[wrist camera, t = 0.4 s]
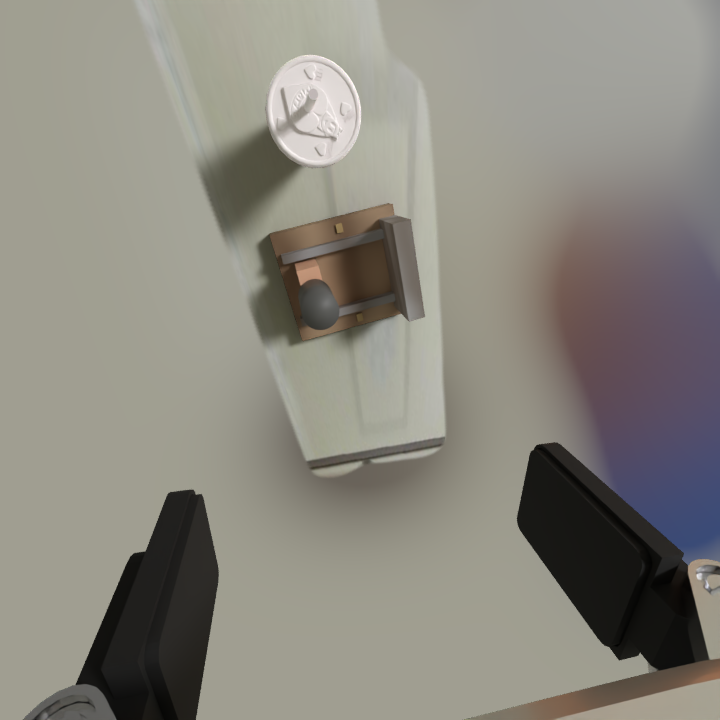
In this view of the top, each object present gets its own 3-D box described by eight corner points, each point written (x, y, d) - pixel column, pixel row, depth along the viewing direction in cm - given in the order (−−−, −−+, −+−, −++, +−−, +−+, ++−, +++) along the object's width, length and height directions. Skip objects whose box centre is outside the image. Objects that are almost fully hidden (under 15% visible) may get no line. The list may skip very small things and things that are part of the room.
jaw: (303, 313, 39) (310, 345, 31) (289, 264, 37) (293, 286, 29) (332, 305, 39) (346, 335, 31) (319, 257, 37) (331, 276, 29)
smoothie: (292, 68, 32) (303, -5, 19) (354, 122, 34) (399, 88, 22) (254, 140, 33) (241, 114, 21) (316, 186, 36) (337, 188, 23)
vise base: (301, 335, 42) (305, 360, 36) (269, 233, 37) (268, 243, 31) (405, 306, 43) (426, 326, 37) (388, 203, 38) (408, 207, 32)
